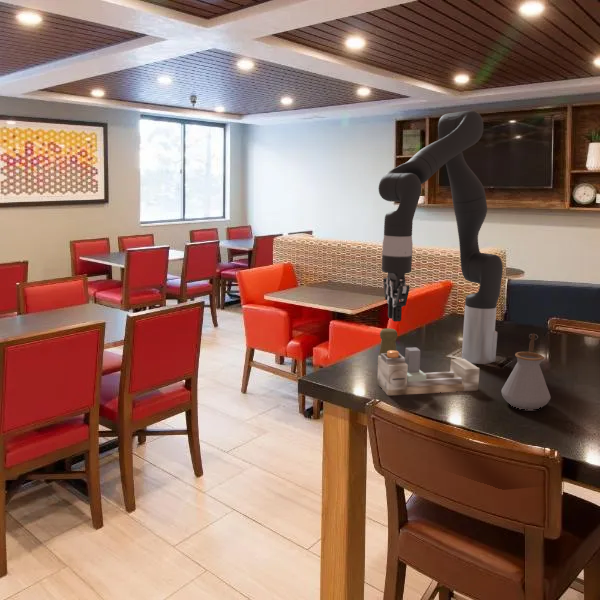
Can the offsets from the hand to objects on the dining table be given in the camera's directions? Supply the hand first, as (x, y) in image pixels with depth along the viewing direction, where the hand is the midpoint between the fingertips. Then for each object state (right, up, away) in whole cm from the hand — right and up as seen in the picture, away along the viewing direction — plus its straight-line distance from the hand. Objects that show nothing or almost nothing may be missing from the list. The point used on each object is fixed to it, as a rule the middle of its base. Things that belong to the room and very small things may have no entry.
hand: (394, 319), depth 155 cm
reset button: (0, -11, +2) cm, 11 cm away
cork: (+2, -15, +25) cm, 29 cm away
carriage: (+5, -15, +4) cm, 17 cm away
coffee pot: (+33, -20, -2) cm, 39 cm away
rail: (+10, -18, +6) cm, 22 cm away
